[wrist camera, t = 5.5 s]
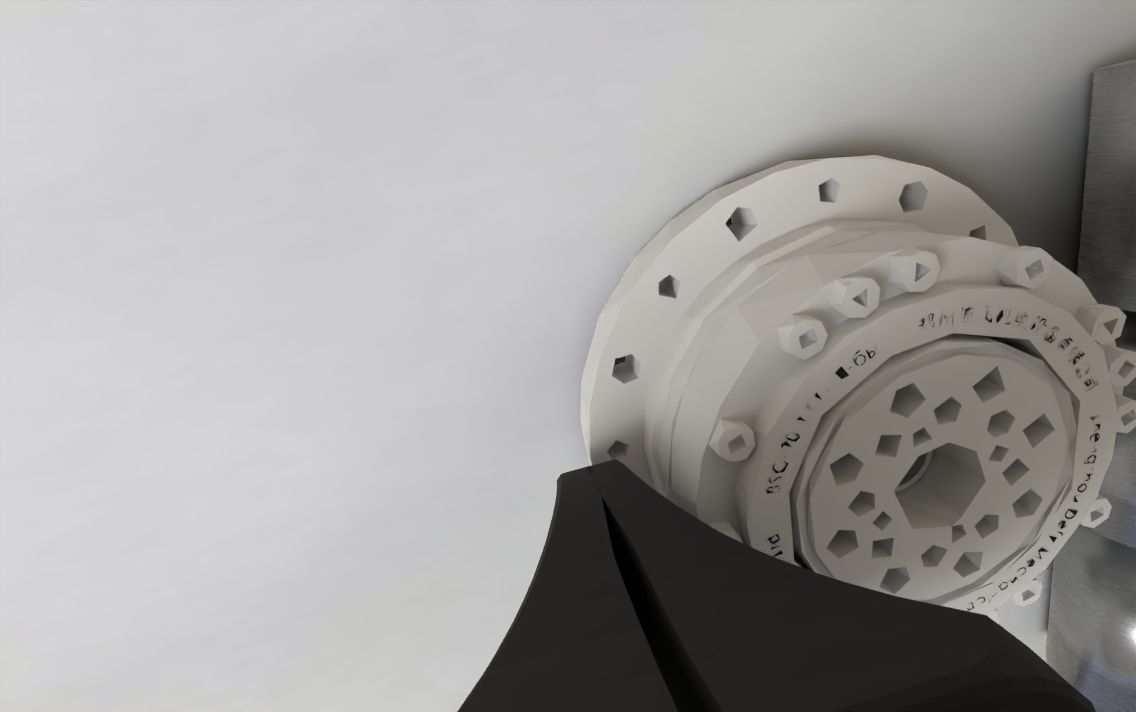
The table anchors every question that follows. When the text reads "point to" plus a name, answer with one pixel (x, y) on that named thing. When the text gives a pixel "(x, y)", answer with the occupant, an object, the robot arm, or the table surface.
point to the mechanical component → (864, 381)
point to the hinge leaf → (1132, 480)
